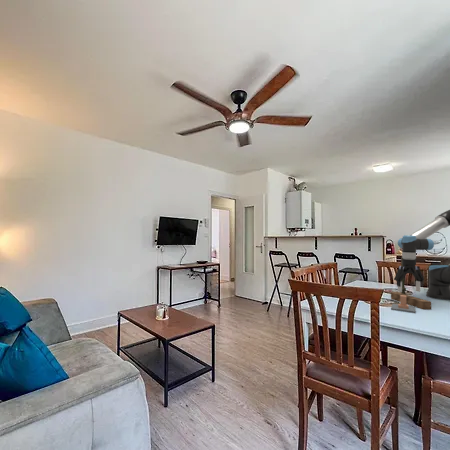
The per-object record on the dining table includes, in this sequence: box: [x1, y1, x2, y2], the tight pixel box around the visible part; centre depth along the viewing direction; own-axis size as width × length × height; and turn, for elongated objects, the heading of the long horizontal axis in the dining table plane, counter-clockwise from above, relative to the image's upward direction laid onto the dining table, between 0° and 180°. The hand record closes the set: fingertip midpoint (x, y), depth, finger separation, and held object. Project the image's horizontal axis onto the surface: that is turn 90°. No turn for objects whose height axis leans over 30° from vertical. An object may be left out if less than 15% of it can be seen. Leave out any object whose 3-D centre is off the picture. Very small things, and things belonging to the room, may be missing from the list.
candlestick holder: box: [400, 255, 408, 295], centre depth 193 cm, size 9×9×30 cm
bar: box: [390, 291, 432, 311], centre depth 175 cm, size 26×5×5 cm, turn 9°
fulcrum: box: [390, 295, 417, 314], centre depth 163 cm, size 12×12×8 cm
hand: (409, 291), depth 175 cm, fingers open, 13 cm apart
